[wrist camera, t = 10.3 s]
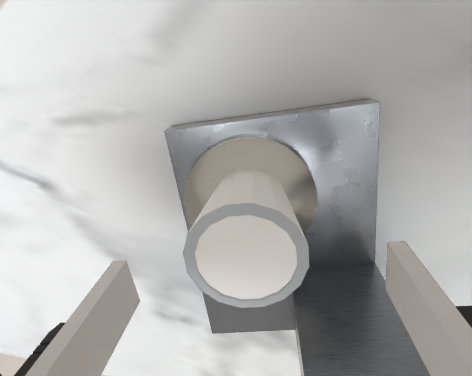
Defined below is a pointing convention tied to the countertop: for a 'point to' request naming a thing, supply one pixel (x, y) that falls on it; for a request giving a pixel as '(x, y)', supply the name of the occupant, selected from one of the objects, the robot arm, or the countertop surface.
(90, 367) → the robot arm
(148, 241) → the countertop surface
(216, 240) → the white tapered cup
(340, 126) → the press
